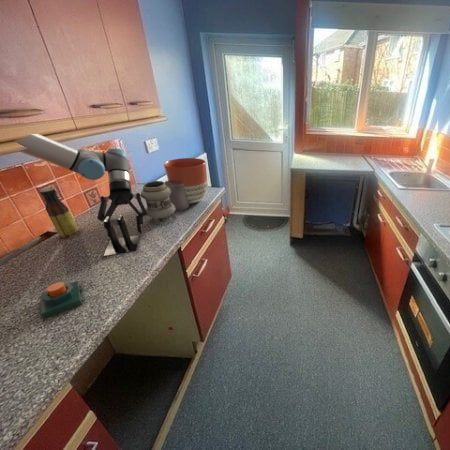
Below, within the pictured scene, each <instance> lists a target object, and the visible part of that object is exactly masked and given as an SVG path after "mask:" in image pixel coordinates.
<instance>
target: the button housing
mask: <svg viewBox="0 0 450 450" xmlns="http://www.w3.org/2000/svg"><path fill="white" fill-rule="evenodd" d="M64 285H65V287H66V289H67V290H66V292H64V293H62V294H61V295H58V296H55V297H51V296H49V294H48V292H47V290H45V291H42V292H41V294H40V295H41V297H40V313H39V314H40V317H42V319H43V320H44V319H47V318H50V317H52V316H55V315H58V314H61V313H64V312H66V311H69V310H71V309H74V308H77V307H80V306H83V299H82V293H81V288H80V283H79V281H78V280H76V281H73V282H70V283H69V282H67V283H64Z"/></svg>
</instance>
